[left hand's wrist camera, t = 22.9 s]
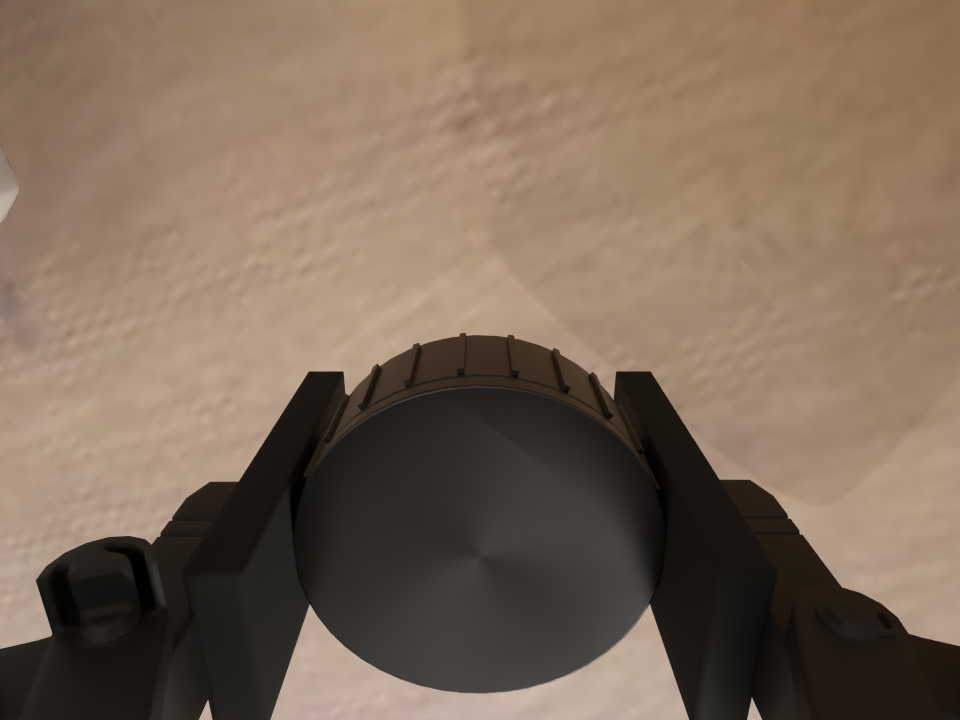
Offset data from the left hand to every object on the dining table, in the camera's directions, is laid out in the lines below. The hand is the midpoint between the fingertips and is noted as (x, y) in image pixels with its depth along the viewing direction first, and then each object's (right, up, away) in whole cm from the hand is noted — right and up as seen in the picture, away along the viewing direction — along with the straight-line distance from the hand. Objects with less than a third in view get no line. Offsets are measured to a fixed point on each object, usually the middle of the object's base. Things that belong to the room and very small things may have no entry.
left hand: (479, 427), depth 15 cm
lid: (0, -1, -4) cm, 4 cm away
